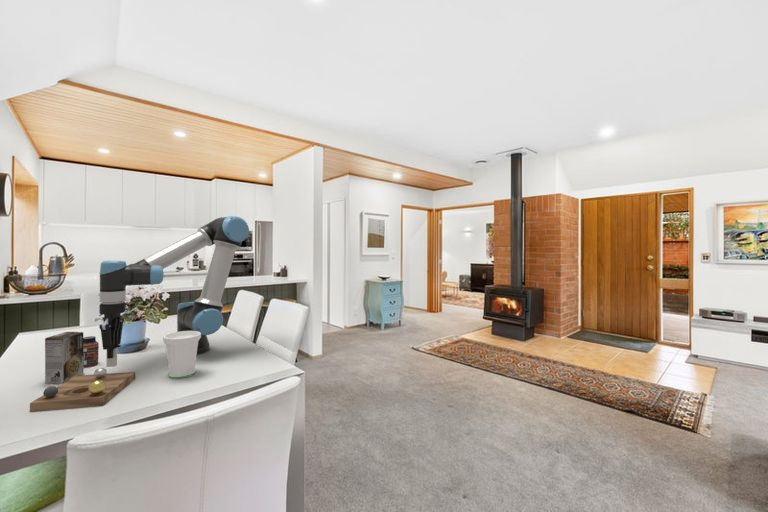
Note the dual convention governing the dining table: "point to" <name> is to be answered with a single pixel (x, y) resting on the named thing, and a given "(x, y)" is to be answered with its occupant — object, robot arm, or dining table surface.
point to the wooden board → (83, 392)
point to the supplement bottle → (90, 351)
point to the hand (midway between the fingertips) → (111, 365)
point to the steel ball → (100, 373)
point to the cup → (181, 353)
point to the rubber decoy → (50, 391)
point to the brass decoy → (97, 387)
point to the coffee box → (63, 357)
